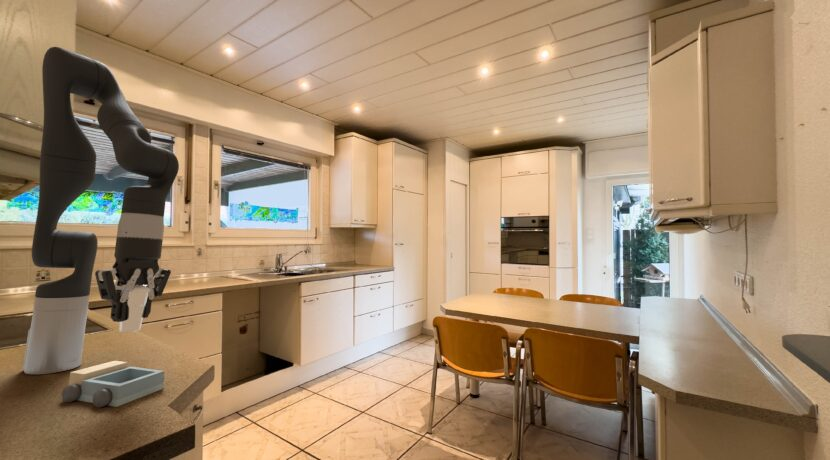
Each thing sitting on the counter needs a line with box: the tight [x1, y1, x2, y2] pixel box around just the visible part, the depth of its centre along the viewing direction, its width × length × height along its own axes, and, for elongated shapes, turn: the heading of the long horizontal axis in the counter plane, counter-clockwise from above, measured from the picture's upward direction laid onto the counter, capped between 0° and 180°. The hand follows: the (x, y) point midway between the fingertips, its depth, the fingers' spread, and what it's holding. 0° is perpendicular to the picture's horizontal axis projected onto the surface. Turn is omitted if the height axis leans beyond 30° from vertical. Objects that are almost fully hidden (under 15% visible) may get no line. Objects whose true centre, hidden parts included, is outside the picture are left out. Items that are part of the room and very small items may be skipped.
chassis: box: [61, 360, 165, 408], centre depth 67 cm, size 13×11×5 cm
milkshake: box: [118, 285, 150, 333], centre depth 69 cm, size 4×5×10 cm
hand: (130, 319), depth 68 cm, fingers closed on milkshake, 4 cm apart
